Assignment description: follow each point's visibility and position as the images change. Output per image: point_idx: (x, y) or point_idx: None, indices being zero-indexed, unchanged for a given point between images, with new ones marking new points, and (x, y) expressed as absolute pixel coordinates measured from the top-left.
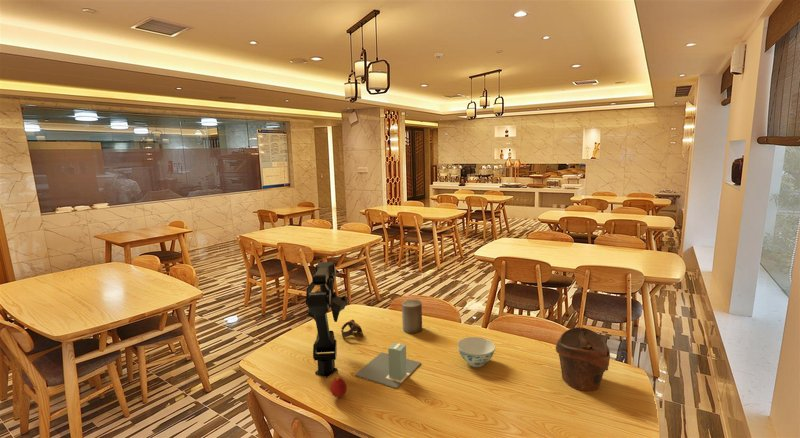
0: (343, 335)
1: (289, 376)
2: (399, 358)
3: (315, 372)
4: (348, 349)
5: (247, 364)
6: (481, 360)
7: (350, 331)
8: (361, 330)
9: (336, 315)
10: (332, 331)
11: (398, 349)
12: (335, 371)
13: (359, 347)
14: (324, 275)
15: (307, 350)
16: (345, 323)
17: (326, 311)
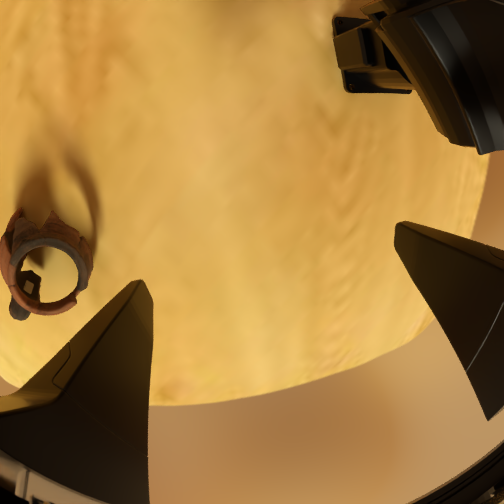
0: (89, 258)
1: (452, 170)
2: None
3: (411, 90)
4: (136, 135)
5: (430, 321)
6: None
7: (51, 235)
8: (7, 230)
9: (113, 344)
10: (500, 4)
11: None
12: (350, 18)
13: (83, 113)
14: None
15: (286, 281)
16: (47, 313)
17: None
